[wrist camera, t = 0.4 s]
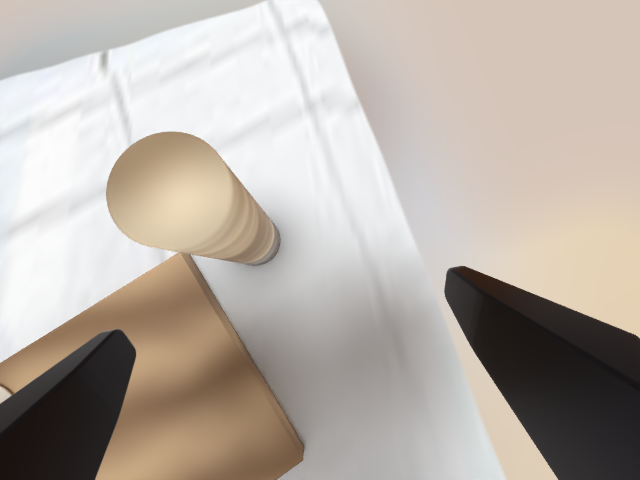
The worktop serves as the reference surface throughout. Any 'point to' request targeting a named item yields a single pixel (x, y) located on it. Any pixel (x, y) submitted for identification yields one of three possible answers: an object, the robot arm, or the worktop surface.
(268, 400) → the subfloor panel
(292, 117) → the worktop surface
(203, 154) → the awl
